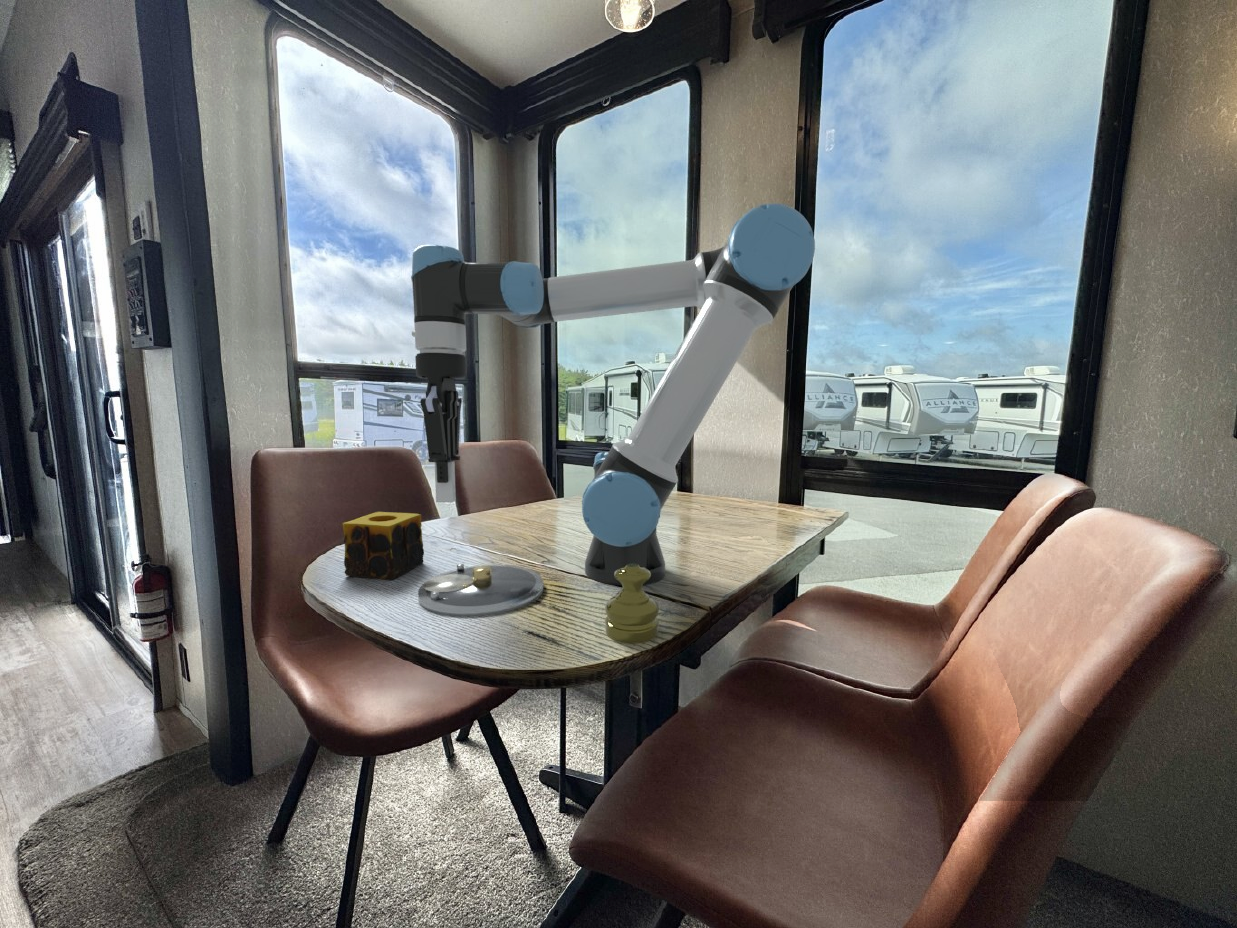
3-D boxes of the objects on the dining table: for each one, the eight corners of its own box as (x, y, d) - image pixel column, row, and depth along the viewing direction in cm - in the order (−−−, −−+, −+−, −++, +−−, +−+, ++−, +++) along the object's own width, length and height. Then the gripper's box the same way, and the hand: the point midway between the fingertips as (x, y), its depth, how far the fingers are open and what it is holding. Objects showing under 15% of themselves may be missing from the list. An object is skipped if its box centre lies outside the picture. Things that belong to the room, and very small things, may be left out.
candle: (393, 581, 90) (390, 526, 88) (343, 577, 91) (339, 523, 90) (425, 563, 99) (423, 513, 98) (380, 559, 101) (377, 510, 100)
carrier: (550, 571, 95) (549, 551, 94) (533, 618, 75) (532, 592, 74) (442, 571, 95) (442, 550, 94) (397, 617, 75) (395, 591, 74)
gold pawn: (669, 635, 70) (671, 565, 69) (632, 653, 65) (633, 578, 64) (631, 618, 75) (632, 553, 74) (593, 634, 70) (593, 564, 69)
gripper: (431, 356, 85) (436, 493, 89) (399, 348, 72) (406, 510, 76) (476, 356, 86) (479, 494, 89) (452, 349, 73) (457, 510, 76)
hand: (446, 501), depth 82 cm, fingers closed
